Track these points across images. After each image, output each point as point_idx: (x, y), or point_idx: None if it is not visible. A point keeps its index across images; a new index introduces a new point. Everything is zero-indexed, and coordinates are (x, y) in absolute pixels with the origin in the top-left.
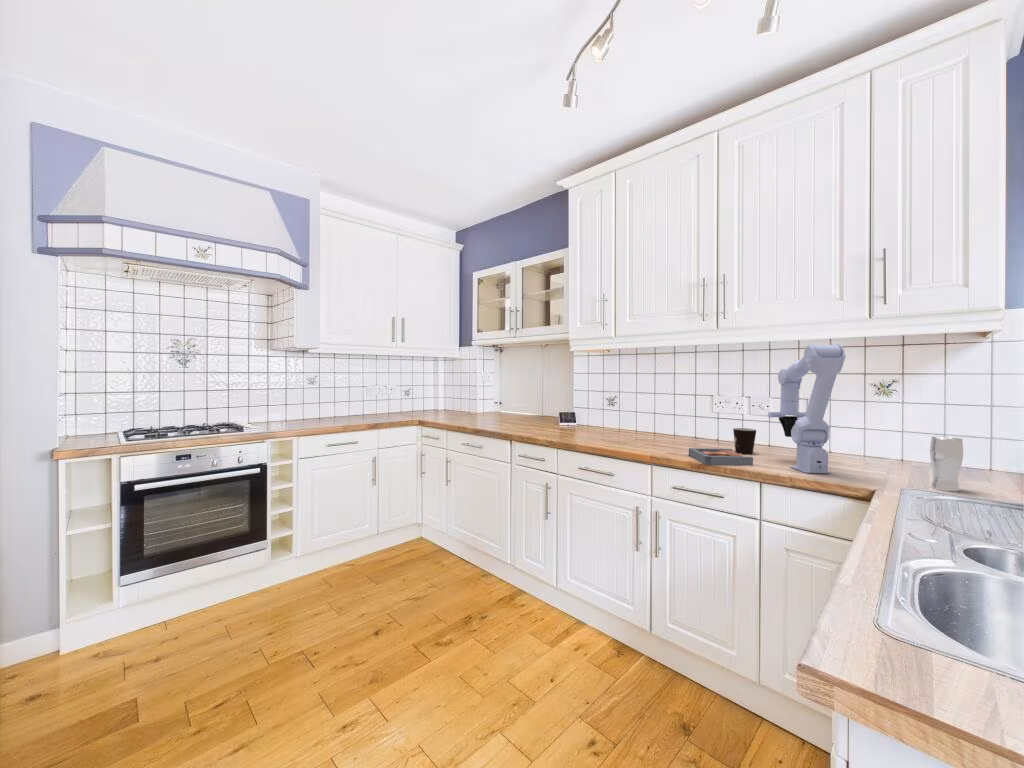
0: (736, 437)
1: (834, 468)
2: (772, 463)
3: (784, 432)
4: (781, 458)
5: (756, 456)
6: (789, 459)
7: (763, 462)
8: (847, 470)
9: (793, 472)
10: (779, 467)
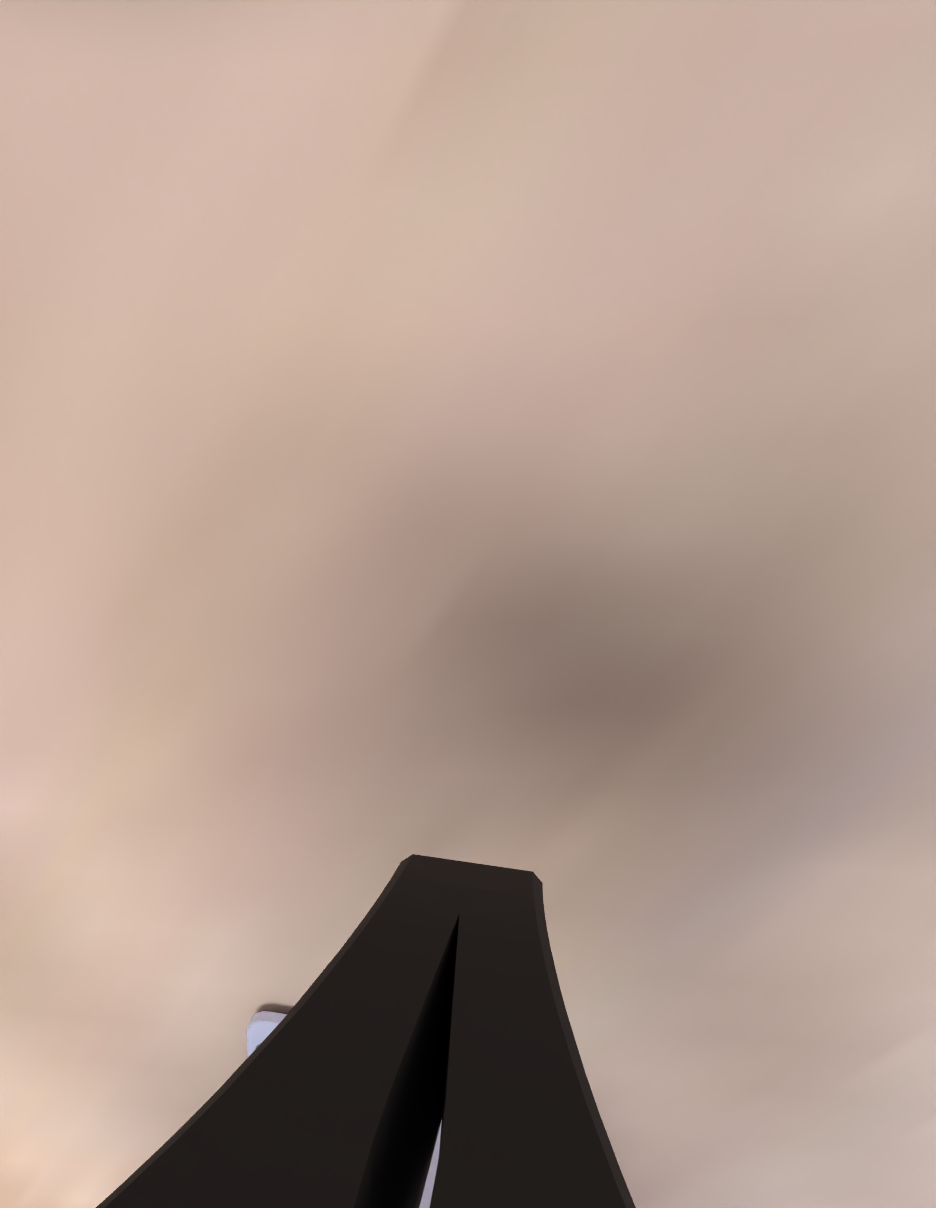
0: None
1: (860, 1105)
2: (147, 761)
3: (354, 943)
4: (591, 333)
5: (151, 85)
6: (691, 446)
7: (40, 686)
8: (929, 1203)
9: None
10: (118, 980)
